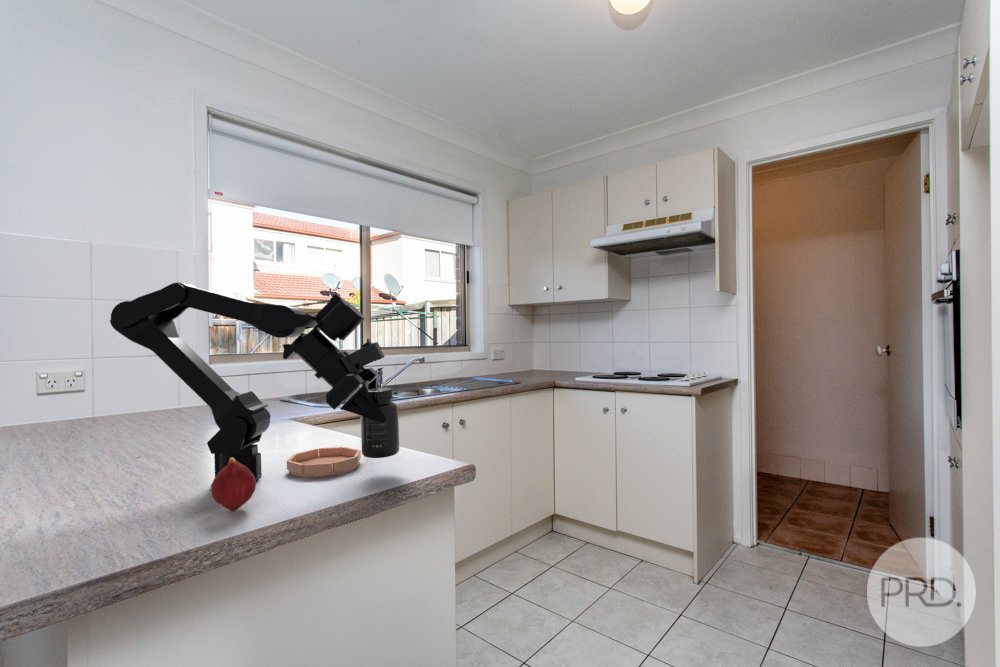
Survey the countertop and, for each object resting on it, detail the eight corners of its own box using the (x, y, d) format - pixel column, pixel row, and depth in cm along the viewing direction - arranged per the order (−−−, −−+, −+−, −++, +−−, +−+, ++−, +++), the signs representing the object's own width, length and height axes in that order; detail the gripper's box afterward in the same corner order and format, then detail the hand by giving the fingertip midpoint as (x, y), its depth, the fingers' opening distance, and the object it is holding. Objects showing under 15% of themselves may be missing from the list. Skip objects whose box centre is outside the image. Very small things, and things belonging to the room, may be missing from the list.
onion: (264, 504, 74) (262, 452, 74) (240, 518, 68) (239, 463, 68) (229, 503, 75) (228, 452, 75) (202, 517, 69) (201, 462, 69)
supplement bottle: (365, 449, 91) (364, 387, 91) (401, 448, 92) (400, 386, 91) (357, 459, 84) (356, 392, 84) (396, 458, 85) (395, 391, 85)
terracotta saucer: (280, 479, 86) (280, 466, 86) (299, 460, 99) (298, 449, 99) (354, 475, 88) (354, 462, 88) (363, 456, 101) (363, 445, 101)
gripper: (344, 326, 78) (413, 392, 79) (366, 327, 97) (422, 380, 98) (296, 375, 77) (366, 441, 78) (327, 367, 96) (383, 420, 97)
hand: (387, 417), depth 88 cm, fingers closed on supplement bottle, 6 cm apart
